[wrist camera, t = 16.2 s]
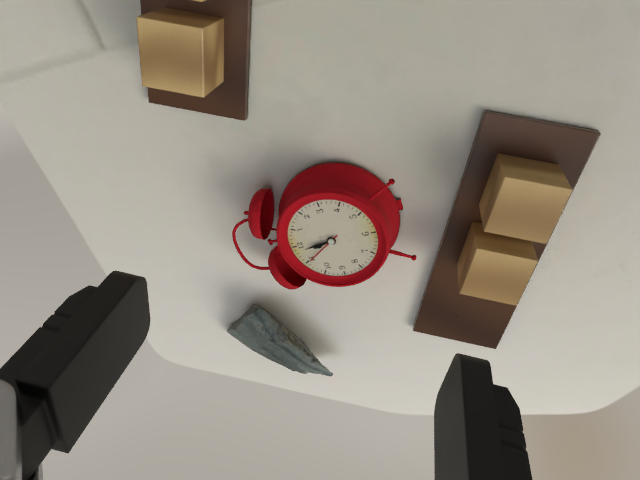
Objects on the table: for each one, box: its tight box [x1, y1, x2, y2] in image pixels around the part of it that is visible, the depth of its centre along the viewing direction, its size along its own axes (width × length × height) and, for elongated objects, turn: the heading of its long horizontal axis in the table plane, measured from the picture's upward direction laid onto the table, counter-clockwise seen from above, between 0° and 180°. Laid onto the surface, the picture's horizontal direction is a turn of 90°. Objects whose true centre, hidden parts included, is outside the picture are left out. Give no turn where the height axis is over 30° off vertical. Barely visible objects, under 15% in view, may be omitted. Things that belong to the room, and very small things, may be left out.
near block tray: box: [413, 110, 600, 349], centre depth 38 cm, size 22×8×5 cm, turn 173°
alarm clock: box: [232, 163, 416, 289], centre depth 40 cm, size 10×6×15 cm
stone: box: [227, 304, 333, 376], centre depth 49 cm, size 11×4×10 cm
